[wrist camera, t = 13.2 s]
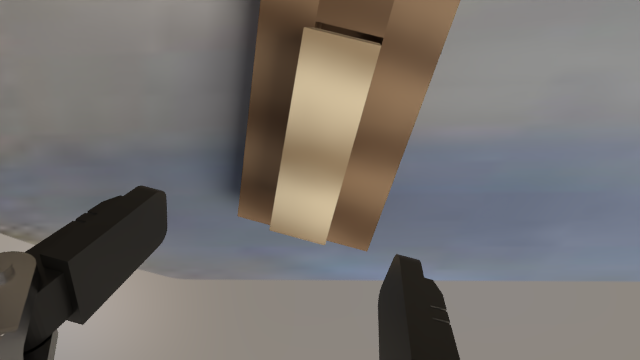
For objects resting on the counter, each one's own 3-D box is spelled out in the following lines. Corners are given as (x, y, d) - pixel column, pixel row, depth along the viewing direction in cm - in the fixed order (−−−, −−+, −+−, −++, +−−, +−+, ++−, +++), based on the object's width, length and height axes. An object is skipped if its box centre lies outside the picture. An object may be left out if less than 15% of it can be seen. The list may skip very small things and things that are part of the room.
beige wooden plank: (325, 27, 22) (303, 27, 15) (378, 40, 22) (381, 45, 15) (294, 180, 28) (269, 230, 21) (336, 191, 28) (324, 245, 21)
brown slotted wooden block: (283, -40, 22) (266, -54, 18) (448, -1, 21) (463, -7, 18) (253, 194, 31) (237, 216, 28) (367, 225, 31) (367, 251, 27)
